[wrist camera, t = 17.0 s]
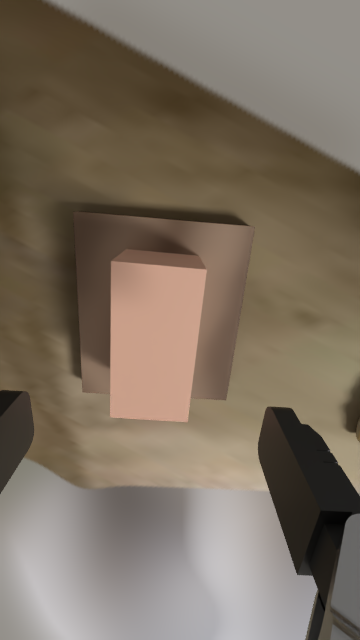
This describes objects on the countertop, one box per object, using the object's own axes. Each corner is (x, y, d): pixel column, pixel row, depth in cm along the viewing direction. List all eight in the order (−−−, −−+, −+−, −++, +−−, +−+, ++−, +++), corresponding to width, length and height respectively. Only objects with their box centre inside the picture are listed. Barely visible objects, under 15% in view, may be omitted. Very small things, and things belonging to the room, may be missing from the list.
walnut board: (249, 225, 20) (254, 226, 19) (223, 389, 25) (226, 400, 24) (80, 211, 20) (73, 211, 18) (87, 382, 25) (82, 392, 23)
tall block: (184, 379, 23) (199, 255, 19) (187, 421, 18) (206, 269, 15) (123, 375, 23) (126, 249, 19) (109, 417, 18) (111, 261, 14)
